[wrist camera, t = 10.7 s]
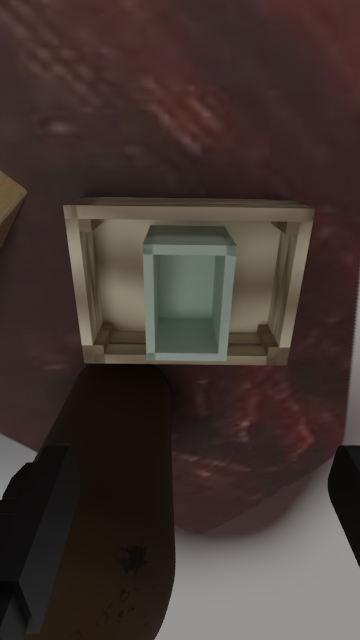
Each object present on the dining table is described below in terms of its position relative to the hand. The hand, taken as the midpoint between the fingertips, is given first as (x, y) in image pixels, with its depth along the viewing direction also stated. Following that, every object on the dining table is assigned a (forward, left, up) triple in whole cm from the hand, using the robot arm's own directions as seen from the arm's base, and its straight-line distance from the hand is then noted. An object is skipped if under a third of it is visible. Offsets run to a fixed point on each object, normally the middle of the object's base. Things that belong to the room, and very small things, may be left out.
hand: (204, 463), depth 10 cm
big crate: (0, 0, -19) cm, 19 cm away
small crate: (0, 0, -18) cm, 18 cm away
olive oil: (+13, -6, -19) cm, 24 cm away
